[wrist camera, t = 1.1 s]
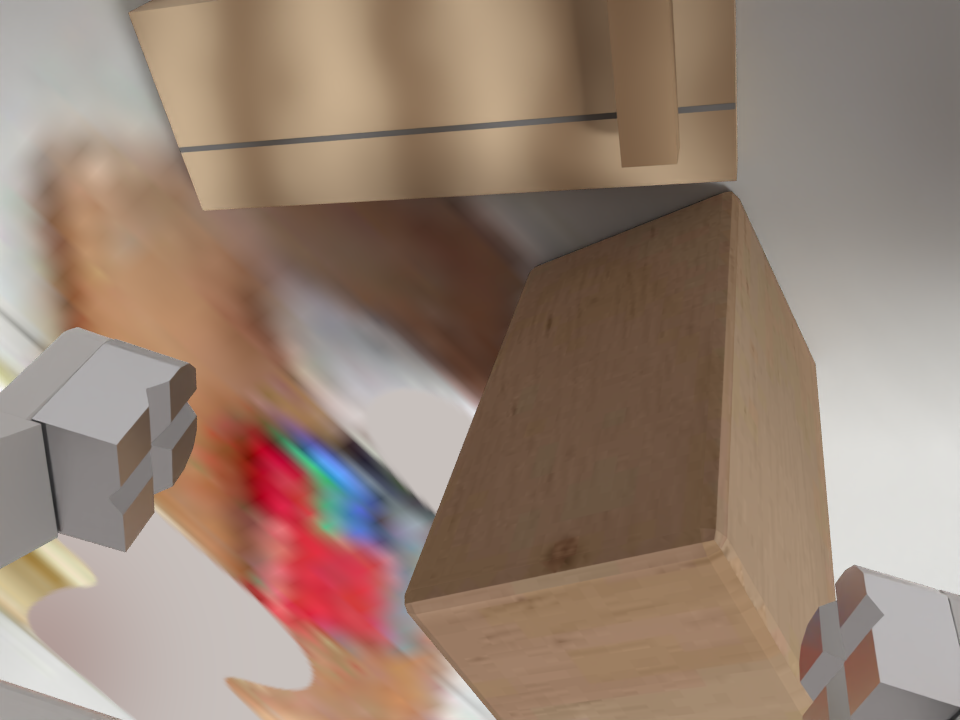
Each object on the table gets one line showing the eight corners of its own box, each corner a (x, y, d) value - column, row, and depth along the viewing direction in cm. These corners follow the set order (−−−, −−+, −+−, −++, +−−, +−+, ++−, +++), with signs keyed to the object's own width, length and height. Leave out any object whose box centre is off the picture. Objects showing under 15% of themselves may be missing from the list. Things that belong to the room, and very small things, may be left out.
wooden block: (527, 265, 42) (393, 606, 26) (734, 182, 37) (718, 539, 22) (621, 422, 46) (552, 796, 31) (818, 365, 41) (855, 775, 26)
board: (734, -81, 32) (733, -69, 30) (737, 159, 37) (736, 180, 35) (153, -1, 39) (127, 12, 37) (222, 192, 44) (202, 210, 42)
